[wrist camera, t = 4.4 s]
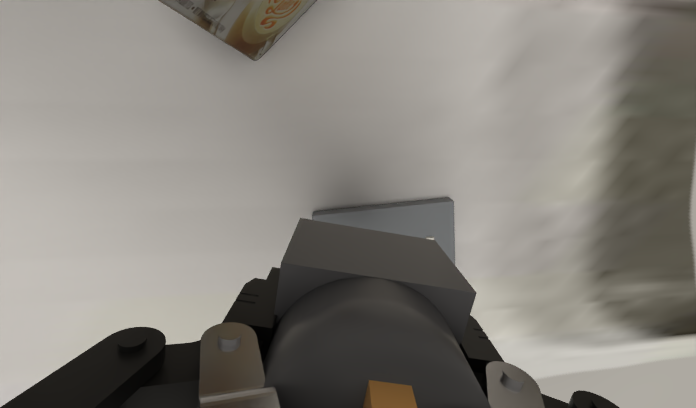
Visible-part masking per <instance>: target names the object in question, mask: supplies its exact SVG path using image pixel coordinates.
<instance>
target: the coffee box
mask: <svg viewBox="0 0 696 408" xmlns="http://www.w3.org/2000/svg"><path fill="white" fill-rule="evenodd" d="M158 1H160V2H162V3H163V4H165V5H167V6H168V7H170V8H171V9H173V10H175V11H176V12H178V13H179V14H181V15H183V16H184V17H186V18H187V19H189V20H190V21H192V22H194V23H195V24H197V25H198V26H200V27H201V28H203V29H205V30H206V31H208V32H209V33H211V34H213V35H214V36H216V37H217V38H219V39H220V40H222V41H224V42H225V43H227V44H228V45H230V46H232V47H233V48H235V49H236V50H238V51H240V52H241V53H243V54H245V55H246V56H248V57H249V58H251V59H252V60H254V61H256V60H258V59H259V58H260V57H261V56H262V55H263V54H264V53H265V52H266V51H267V50H268V49H269V48H270V47H271V46H272V45H273V44H274V43H275V42H276V41H277V40H278V39H279V38H280V37H281V36H282V35H283V34H284V33H285V32H286V31H287V30H288V29H289V28H290V27H291V26H292V25H293V24H294V23H295V22H296V21H297V20H298V19H299V18H300V16H301V15H302V14H303V13H304V12H305V11H306V10H307V9H308V8H309V7H310V6H311V5H312V4H313V3H314V2H315V1H316V0H158Z"/></svg>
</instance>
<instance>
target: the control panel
mask: <svg viewBox="0 0 696 408" xmlns="http://www.w3.org/2000/svg"><path fill="white" fill-rule="evenodd" d="M312 219H313V220H315V221H321V222H327V223H333V224H339V225H345V226H352V227H358V228H364V229H370V230H376V231H382V232H388V233H394V234H401V235H407V236H413V237H419V238H425V239H431V240H435V241H436V242H437V243H438V245H439V246H440V247H441V248H442V250H443V251H444V252H445V253H446V255H447V256H448V257H449V259H450V260H451V261H452V262H453V264H454V265H455V238H454V201H453V200H452V199H450V198H449V197H448V198H439V199H429V200H420V201H410V202H401V203H391V204H382V205H372V206H363V207H354V208H344V209H335V210H325V211H316V212H313V214H312Z"/></svg>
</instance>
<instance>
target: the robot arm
mask: <svg viewBox="0 0 696 408" xmlns="http://www.w3.org/2000/svg"><path fill="white" fill-rule="evenodd" d="M279 275H280V268H275V267H272V269H271V271H270V273H269V275H268V277H267V279H266V280H264V279H257V278H254V279H253V280H251V281H250V282H248V283H246V284H245V285H244V287H243V289H242V290H241V292H240V294H239V295H238V297H237V299H236V301H235V302H234V304H233V305H232V307H231V309H230V310H229V312H228V314H227V315H226V317H225V319H224V320H223V322H222V323H221V324H218V325H215V326H213V327H211V328H209V329H208V330H207V331H205V332H204V334H203V335H202V337H201V340H200V341H196V342H192V343H183V344H170V345H165V344H166V339H165V336H164V334H163V333H162V332H161V331H159V330H157V329H154V328H150V327H134V328H128V329H124V330H121V331H118V332H116V333H114V334H112V335H110V336H108V337H107V338H105V339H104V340H102V341H100V342H99V343H97V344H96V345H94V346H93V347H91V348H90V349H88V350H87V351H85V352H84V353H82V354H81V355H79V356H78V357H76V358H75V359H73V360H72V361H70V362H69V363H67V364H66V365H64V366H62V367H61V368H59V369H58V370H56V371H55V372H53V373H52V374H50V375H49V376H47V377H46V378H44V379H43V380H41V381H40V382H38V383H37V384H35V385H34V386H32V387H31V388H29V389H28V390H26V391H24V392H23V393H21V394H20V395H18V396H17V397H15V398H14V399H12V400H11V401H9V402H8V403H6V404H5V405H3V406H2V407H0V408H280V405H279V400H278V396H277V392H276V389H275V387H274V386H267V387H264V383H265V380H266V379H265V374H264V369H263V363H264V360H265V357H266V354H267V351H268V349H269V346H270V343H271V340H272V337H273V334H274V331H275V324H276V317H277V315H274V311H275V304H276V296H277V289H278V282H279ZM460 348H461V350H462V352H463V354H464V356H465V358H466V360H467V362H468V364H469V366H470V367H471V369H472V371H473V373H474V375H475V377H476V379H477V381H478V383H479V385H480V387H481V389H482V390H483V392H484V394H485V396H486V398H487V400H488V402H489V404H490V406H491V408H619V407H618V406H616V405H615V404H613V403H612V402H610V401H609V400H607V399H605V398H603V397H601V396H599V395H596V394H594V393H591V392H587V391H576V392H574V393H573V395H572V397H571V399H570V402H569V404H568V403H565V402H563V401H560V400H557V399H554V398H552V397H549V396H546V395H543V394H541V392H540V389H539V387H538V385H537V383H536V382H535V381H534V379H533V378H532V377H531V376H529V375H528V374H527V373H526V372H524V371H523V370H521V369H520V368H518V367H516V366H514V365H511V364H509V363H506V362H504V361H503V359H502V358H501V356H500V355H499V353H498V352H497V350H496V349H495V347H494V346H493V344H492V343H491V341H490V340H488V337H487V335H486V334H485V332H483V329H482V328H481V327H480V325H479V324H478V322H477V321H476V320H475V319H474V318H473V317H472V316H471V315H470V316H469V319H468V322H467V326H466V329H465V332H464V336H463V339H462V343H460Z"/></svg>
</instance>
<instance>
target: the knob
mask: <svg viewBox="0 0 696 408" xmlns="http://www.w3.org/2000/svg"><path fill="white" fill-rule="evenodd" d="M475 296H476V292H475V290H474V289H473V288H472V287H471V285H470V284H469V283H468V282H467V280H466V279H465V278H464V276H463V275H462V274H461V273H460V271H459V270H458V269H457V267H456V266H455V265H454V264H453V262H452V261H451V260H450V259H449V257H448V256H447V255H446V253H445V252H444V251H443V250H442V248H441V247H440V246H439V245H438V243H437V242H436V241H435V240H431V239H425V238H419V237H413V236H407V235H401V234H394V233H388V232H382V231H376V230H370V229H364V228H358V227H352V226H345V225H339V224H333V223H327V222H321V221H315V220H309V219H303V218H300V220H299V222H298V225H297V227H296V229H295V232H294V234H293V236H292V239H291V241H290V243H289V246H288V248H287V250H286V253H285V255H284V257H283V260H282V262H281V267H280V275H279V282H278V289H277V296H276V304H275V311H274V315H277V317H276V324H275V331H274V334H273V337H272V340H271V343H270V346H269V349H268V351H267V354H266V357H265V360H264V363H263V369H264V374H265V379H266V380H265V383H264V387H267V386H274V387H275V389H276V392H277V396H278V400H279V405H280V408H491V406H490V404H489V402H488V400H487V398H486V396H485V394H484V392H483V390H482V389H481V387H480V385H479V383H478V381H477V379H476V377H475V375H474V373H473V371H472V369H471V367H470V366H469V364H468V362H467V360H466V358H465V356H464V354H463V352H462V350H461V348H460V343H462V339H463V336H464V332H465V329H466V326H467V322H468V319H469V316H470V312H471V309H472V306H473V302H474V299H475Z"/></svg>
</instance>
